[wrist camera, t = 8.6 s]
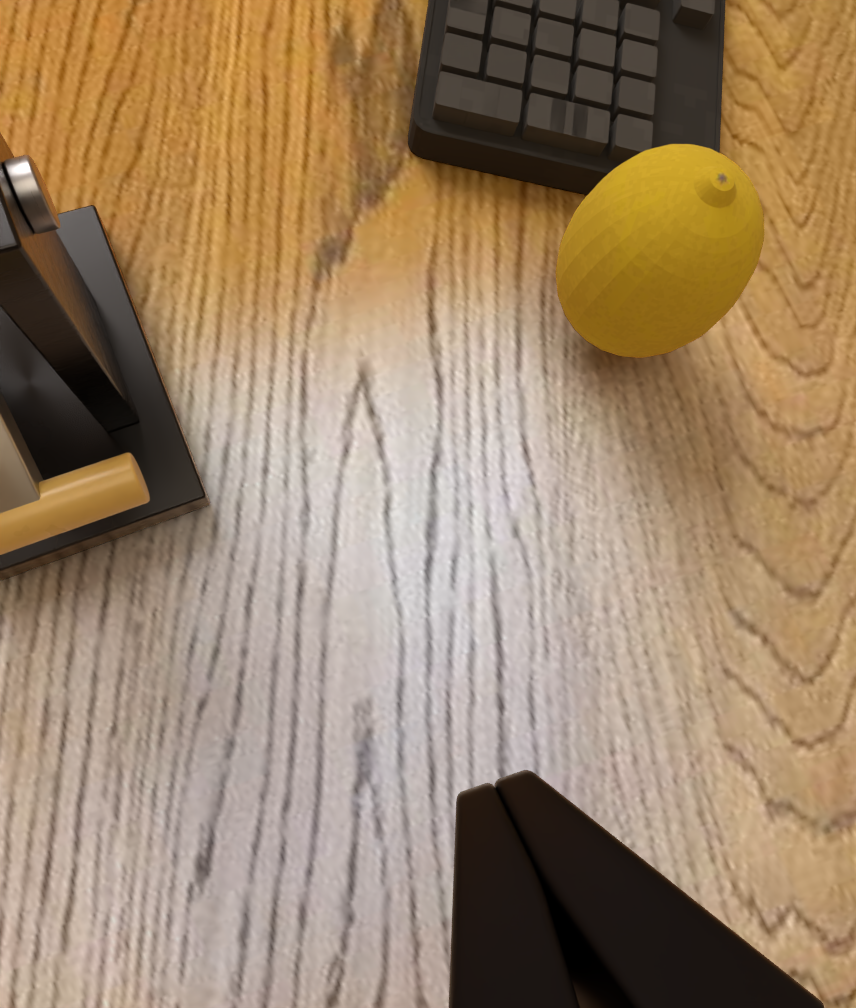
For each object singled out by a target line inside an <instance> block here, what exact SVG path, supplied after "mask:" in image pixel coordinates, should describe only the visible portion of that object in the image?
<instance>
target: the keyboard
mask: <svg viewBox="0 0 856 1008" xmlns="http://www.w3.org/2000/svg"><path fill="white" fill-rule="evenodd" d="M724 23H725V0H429V1H428V8H427V14H426V21H425V28H424V34H423V41H422V48H421V54H420V61H419V67H418V74H417V81H416V87H415V94H414V100H413V107H412V114H411V120H410V127H409V133H408V145H409V147H410V149H411V151H412V152H413V153H414V154H416V155H417V156H419V157H422V158H425V159H429V160H433V161H438V162H442V163H447V164H451V165H456V166H460V167H465V168H469V169H474V170H478V171H483V172H487V173H492V174H496V175H501V176H505V177H510V178H514V179H519V180H523V181H528V182H532V183H537V184H541V185H546V186H550V187H555V188H559V189H564V190H568V191H573V192H577V193H581V194H586V195H588V194H589V193H590V192H591V191H592V190H593V189H594V188H595V186H596V185H597V184H598V183H599V182H600V181H601V180H602V179H603V178H604V177H605V176H606V175H607V174H608V173H610V172H611V171H612V170H613V169H615V168H616V167H617V166H619V165H620V164H622V163H624V162H625V161H627V160H629V159H630V158H632V157H634V156H636V155H637V154H639V153H641V152H643V151H645V150H649V149H653V148H657V147H660V146H665V145H669V144H693V145H698V146H702V147H706V148H710V149H712V150H714V151H716V152H718V153H719V151H720V125H721V99H722V74H723V48H724Z"/></svg>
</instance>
